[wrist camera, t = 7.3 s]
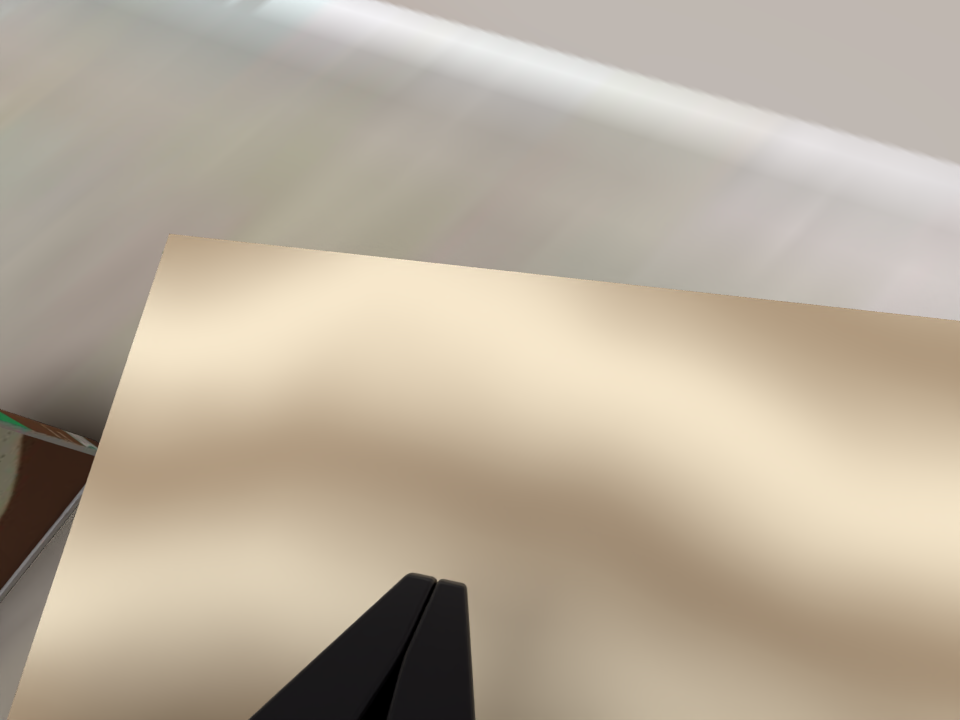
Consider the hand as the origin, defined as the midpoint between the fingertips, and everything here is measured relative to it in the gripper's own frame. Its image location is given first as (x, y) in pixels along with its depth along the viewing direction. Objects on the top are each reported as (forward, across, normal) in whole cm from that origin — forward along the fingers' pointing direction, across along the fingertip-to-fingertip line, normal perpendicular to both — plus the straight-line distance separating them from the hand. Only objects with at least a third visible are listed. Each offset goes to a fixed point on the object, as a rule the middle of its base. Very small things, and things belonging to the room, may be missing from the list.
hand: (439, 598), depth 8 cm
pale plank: (+5, 0, +3) cm, 6 cm away
